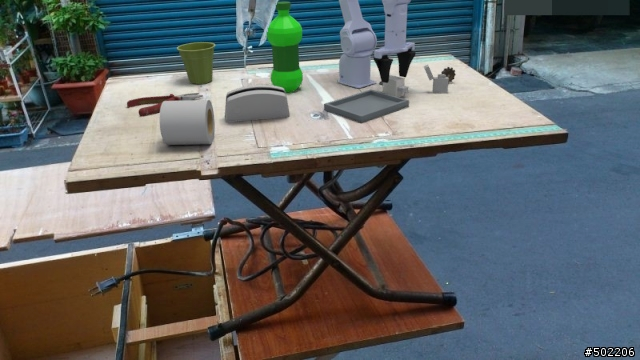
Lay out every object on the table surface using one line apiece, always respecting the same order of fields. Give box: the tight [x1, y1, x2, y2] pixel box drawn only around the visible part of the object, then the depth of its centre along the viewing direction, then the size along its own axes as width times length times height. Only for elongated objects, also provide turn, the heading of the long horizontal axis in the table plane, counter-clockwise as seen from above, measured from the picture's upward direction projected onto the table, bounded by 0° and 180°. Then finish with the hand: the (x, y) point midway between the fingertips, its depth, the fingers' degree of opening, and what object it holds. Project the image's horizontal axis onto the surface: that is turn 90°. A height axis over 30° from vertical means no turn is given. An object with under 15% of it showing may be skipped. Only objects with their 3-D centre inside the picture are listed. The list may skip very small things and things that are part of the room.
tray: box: [323, 89, 410, 124], centre depth 143 cm, size 14×18×2 cm
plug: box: [379, 74, 410, 98], centre depth 153 cm, size 9×4×5 cm, turn 41°
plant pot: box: [176, 41, 216, 85], centre depth 168 cm, size 12×12×11 cm
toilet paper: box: [159, 99, 216, 146], centre depth 122 cm, size 10×10×10 cm
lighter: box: [423, 64, 449, 94], centre depth 153 cm, size 7×2×8 cm, turn 85°
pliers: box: [126, 92, 204, 117], centre depth 150 cm, size 12×20×3 cm, turn 127°
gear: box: [440, 66, 457, 84], centre depth 161 cm, size 5×1×5 cm, turn 108°
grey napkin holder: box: [224, 84, 291, 123], centre depth 137 cm, size 17×5×10 cm, turn 101°
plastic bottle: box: [266, 0, 304, 93], centre depth 155 cm, size 10×10×25 cm
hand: (393, 79), depth 151 cm, fingers open, 7 cm apart
